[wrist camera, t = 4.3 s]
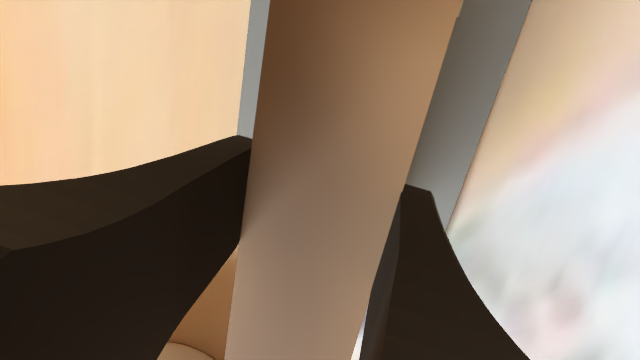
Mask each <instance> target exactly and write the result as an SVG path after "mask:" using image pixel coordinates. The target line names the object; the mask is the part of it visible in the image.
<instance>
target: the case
mask: <svg viewBox="0 0 640 360" xmlns="http://www.w3.org/2000/svg"><path fill="white" fill-rule="evenodd" d="M461 1H462V0H270V5H269V13H268V21H267V28H266V36H265V44H264V52H263V60H262V68H261V75H260V83H259V91H258V99H257V107H256V115H255V122H254V130H253V138H252V146H251V156H250V164H249V172H248V179H247V187H246V195H245V203H244V211H243V218H242V226H241V234H240V241H239V248H238V255H237V263H236V271H235V279H234V287H233V295H232V302H231V310H230V318H229V326H228V334H227V342H226V349H225V357H224V360H351V357H352V353H353V350H354V347H355V344H356V340H357V337H358V334H359V331H360V328H361V324H362V321H363V318H364V315H365V311H366V308H367V305H368V302H369V298H370V292H371V289H372V285H373V282H374V279H375V276H376V272H377V269H378V266H379V263H380V259H381V256H382V253H383V250H384V246H385V243H386V240H387V237H388V233H389V230H390V227H391V224H392V220H393V217H394V214H395V211H396V207H397V204H398V201H399V198H400V194H401V192H403V189H404V185H405V182H406V179H407V176H408V172H409V169H410V166H411V163H412V160H413V156H414V153H415V150H416V147H417V143H418V140H419V137H420V134H421V130H422V127H423V124H424V121H425V118H426V114H427V111H428V108H429V105H430V101H431V98H432V95H433V92H434V88H435V85H436V82H437V79H438V76H439V72H440V69H441V66H442V63H443V59H444V56H445V53H446V50H447V46H448V43H449V40H450V37H451V34H452V30H453V27H454V24H455V21H456V17H457V14H458V11H459V8H460V5H461Z"/></svg>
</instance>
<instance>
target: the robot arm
mask: <svg viewBox="0 0 640 360" xmlns="http://www.w3.org/2000/svg"><path fill="white" fill-rule="evenodd" d="M251 146H252V139H251V138H248V137H244V136H241V135H236V136H232V137H228V138H225V139H222V140H219V141H216V142H213V143H210V144H207V145H204V146H201V147H198V148H195V149H192V150H189V151H186V152H183V153H180V154H177V155H174V156H171V157H167V158H164V159H160V160H157V161H153V162H150V163H146V164H143V165H139V166H136V167H132V168H128V169H124V170H119V171H115V172H110V173H105V174H99V175H94V176H88V177H82V178H76V179H67V180H59V181H50V182H41V183H33V184H20V185H4V186H0V360H157V359H158V357H159V355H160V354H161V352H162V350H163V349H164V347H165V345H166V343H167V342H168V340H169V338H170V337H171V335H172V333H173V332H174V330H175V329H176V328H177V326H178V325H179V323H180V322H181V320H182V319H183V317H184V316H185V315H186V313H187V312H188V311H189V309H190V308H191V307H192V305H193V304H194V303H195V301H196V300H197V299H198V298H199V296H200V295H201V294H202V292H203V291H204V290H205V288H206V287H207V286H208V284H209V283H210V282H211V280H212V279H213V278H214V277H215V275H216V274H217V273H218V271H219V270H220V269H221V267H222V266H223V265H224V263H225V262H226V261H227V259H228V258H229V257H230V255H231V254H232V252H233V251H234V250H235V248H236V247H237V245H238V243H239V241H240V234H241V226H242V218H243V211H244V203H245V195H246V187H247V179H248V172H249V164H250V156H251ZM359 360H530V359H529V358H528V357H527V356H526V355H525V354H524V353H523V351H522V350H521V349H520V348H519V347H518V346H517V345H516V344H515V343H514V341H513V340H512V339H511V338H510V337H509V335H508V334H507V333H506V332H505V331H504V329H503V328H502V327H501V326H500V325H499V323H498V322H497V321H496V320H495V318H494V317H493V316H492V314H491V313H490V312H489V310H488V309H487V308H486V306H485V305H484V303H483V302H482V300H481V299H480V297H479V296H478V294H477V293H476V291H475V290H474V288H473V287H472V285H471V284H470V282H469V280H468V278H467V276H466V275H465V273H464V271H463V269H462V267H461V265H460V263H459V261H458V259H457V257H456V255H455V253H454V251H453V249H452V246H451V244H450V242H449V239H448V237H447V235H446V232H445V230H444V227H443V225H442V222H441V219H440V216H439V213H438V210H437V207H436V203H435V199H434V196H433V194H432V193H431V191H428V190H425V189H421V188H418V187H415V186H411V185H408V184H405V185H404V189H403V192H401V194H400V198H399V201H398V204H397V207H396V211H395V214H394V217H393V220H392V224H391V227H390V230H389V233H388V237H387V240H386V243H385V246H384V250H383V253H382V256H381V259H380V263H379V266H378V269H377V272H376V276H375V279H374V282H373V285H372V289H371V292H370V298H369V304H368V310H367V316H366V322H365V328H364V334H363V340H362V346H361V352H360V358H359Z"/></svg>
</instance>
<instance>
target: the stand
mask: <svg viewBox="0 0 640 360" xmlns="http://www.w3.org/2000/svg"><path fill="white" fill-rule="evenodd" d="M531 1H532V0H462V1H461V5H460V8H459V11H458V14H457V17H456V21H455V24H454V27H453V30H452V34H451V37H450V40H449V43H448V46H447V50H446V53H445V56H444V59H443V63H442V66H441V69H440V72H439V76H438V79H437V82H436V85H435V88H434V92H433V95H432V98H431V101H430V105H429V108H428V111H427V114H426V118H425V121H424V124H423V127H422V130H421V134H420V137H419V140H418V143H417V147H416V150H415V153H414V156H413V160H412V163H411V166H410V169H409V172H408V176H407V179H406V182H405V184H408V185H411V186H415V187H418V188H421V189H425V190H428V191H431V193H432V194H433V196H434V199H435V203H436V207H437V210H438V213H439V216H440V219H441V222H442V225H443V227H444V230H445V231H446V228H447V226H448V223H449V220H450V218H451V215H452V212H453V210H454V207H455V204H456V202H457V199H458V196H459V193H460V191H461V188H462V185H463V183H464V180H465V177H466V175H467V172H468V169H469V167H470V164H471V161H472V159H473V156H474V153H475V151H476V148H477V145H478V143H479V140H480V137H481V135H482V132H483V129H484V127H485V124H486V121H487V119H488V116H489V113H490V111H491V108H492V105H493V103H494V100H495V97H496V95H497V92H498V89H499V87H500V84H501V81H502V79H503V76H504V73H505V71H506V68H507V65H508V63H509V60H510V57H511V55H512V52H513V49H514V46H515V44H516V41H517V38H518V36H519V33H520V30H521V28H522V25H523V22H524V20H525V17H526V14H527V12H528V9H529V6H530V4H531ZM269 5H270V0H251V6H250V15H249V25H248V34H247V44H246V53H245V62H244V72H243V81H242V91H241V100H240V110H239V119H238V129H237V135H241V136H244V137H248V138H251V139H252V138H253V130H254V122H255V115H256V107H257V99H258V91H259V83H260V75H261V68H262V60H263V52H264V44H265V36H266V28H267V21H268V13H269Z"/></svg>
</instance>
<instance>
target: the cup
mask: <svg viewBox="0 0 640 360" xmlns="http://www.w3.org/2000/svg"><path fill="white" fill-rule="evenodd" d="M157 360H214V359H213V358H211V357H210V356H208V355H206V354H205V353H203V352H201V351H199V350H197V349H195V348H192V347H189V346H187V345H183V344H177V343H171V342H168V343H166V345H165V347H164V349H163V350H162V352H161V354H160V355H159V357H158V359H157Z"/></svg>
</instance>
